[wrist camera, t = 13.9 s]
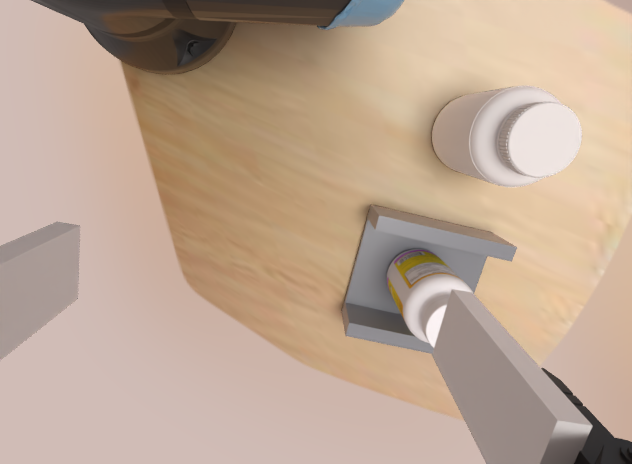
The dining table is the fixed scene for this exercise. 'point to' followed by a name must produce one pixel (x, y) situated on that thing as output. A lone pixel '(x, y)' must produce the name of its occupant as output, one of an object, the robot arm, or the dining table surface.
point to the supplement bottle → (422, 291)
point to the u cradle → (390, 241)
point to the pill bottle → (507, 135)
